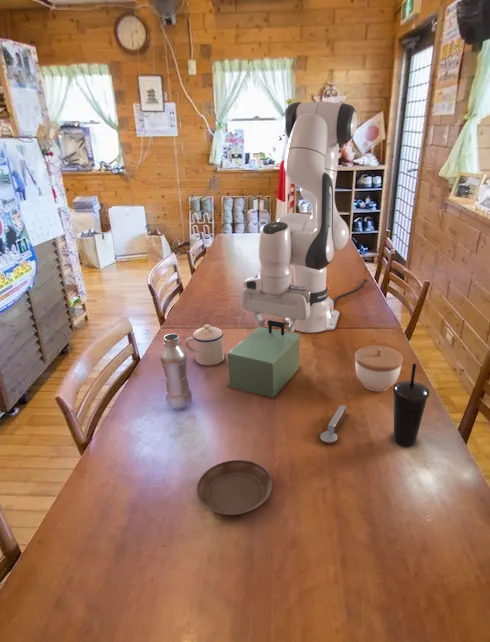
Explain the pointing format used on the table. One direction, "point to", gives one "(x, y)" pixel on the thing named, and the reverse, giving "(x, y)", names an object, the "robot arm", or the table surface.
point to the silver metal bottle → (175, 373)
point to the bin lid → (265, 344)
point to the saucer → (234, 487)
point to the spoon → (333, 427)
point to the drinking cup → (408, 409)
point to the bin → (263, 373)
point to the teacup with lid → (207, 345)
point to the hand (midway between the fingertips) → (276, 328)
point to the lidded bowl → (378, 367)
